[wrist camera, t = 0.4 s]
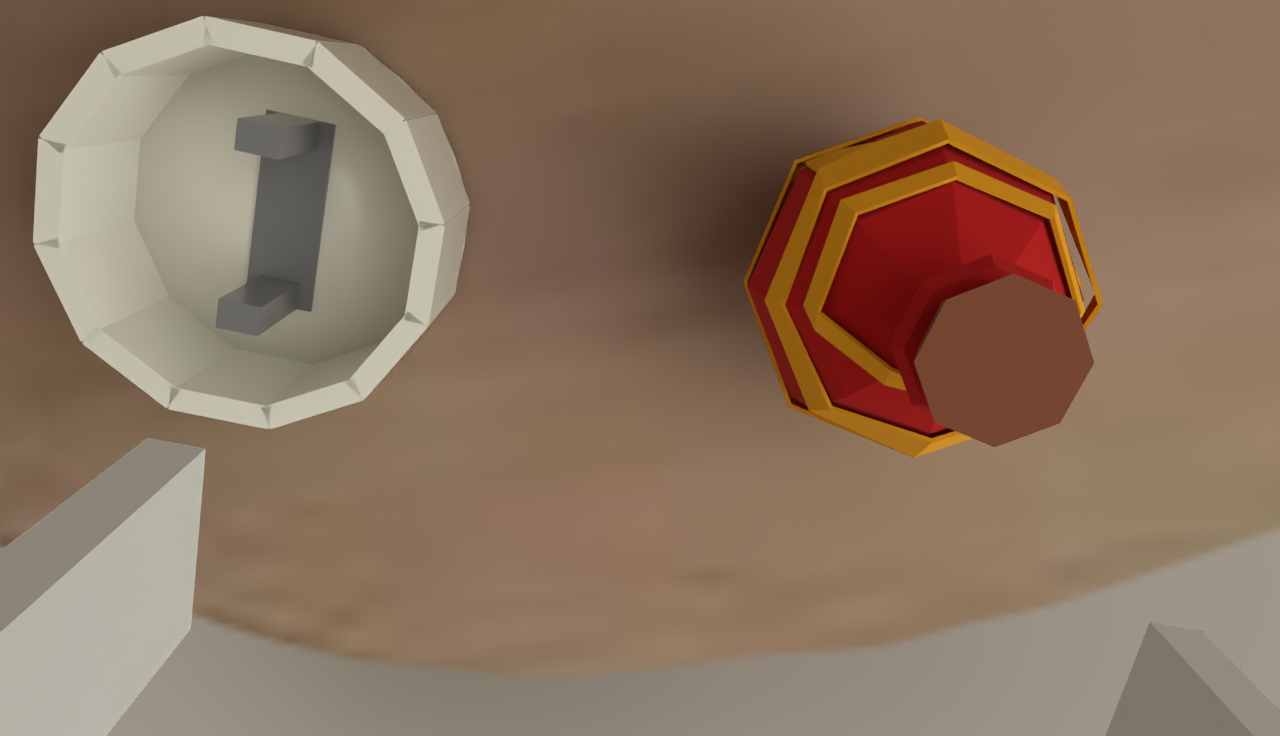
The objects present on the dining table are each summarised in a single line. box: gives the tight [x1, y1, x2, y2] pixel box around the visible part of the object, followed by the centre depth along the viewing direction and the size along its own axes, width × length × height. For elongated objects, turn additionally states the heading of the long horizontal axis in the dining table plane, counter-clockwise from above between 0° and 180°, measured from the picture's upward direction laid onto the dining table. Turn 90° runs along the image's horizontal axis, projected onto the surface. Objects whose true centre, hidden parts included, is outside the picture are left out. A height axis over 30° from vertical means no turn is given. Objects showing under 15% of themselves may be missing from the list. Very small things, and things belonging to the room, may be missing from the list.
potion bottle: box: [743, 117, 1103, 458], centre depth 31 cm, size 10×10×15 cm
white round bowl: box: [33, 16, 470, 429], centre depth 35 cm, size 13×13×6 cm
